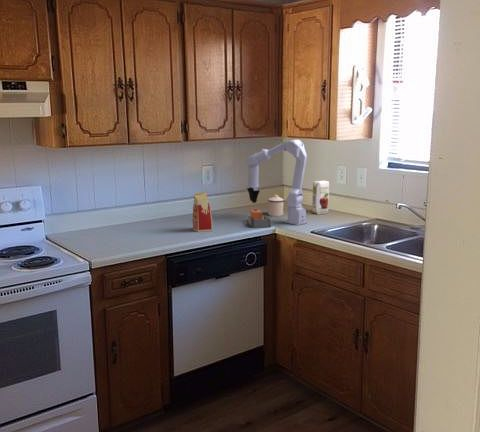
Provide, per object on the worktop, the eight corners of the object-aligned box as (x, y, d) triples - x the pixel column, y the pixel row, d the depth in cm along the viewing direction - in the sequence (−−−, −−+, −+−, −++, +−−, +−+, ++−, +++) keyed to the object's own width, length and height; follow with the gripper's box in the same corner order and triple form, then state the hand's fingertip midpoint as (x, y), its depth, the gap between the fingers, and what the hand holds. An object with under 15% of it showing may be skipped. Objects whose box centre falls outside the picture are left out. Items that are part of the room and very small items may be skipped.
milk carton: (207, 227, 274) (207, 188, 270) (213, 230, 265) (213, 191, 261) (190, 228, 271) (189, 189, 267) (195, 232, 262) (195, 192, 258)
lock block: (261, 223, 284) (261, 211, 283) (252, 223, 283) (252, 211, 282) (259, 220, 292) (259, 208, 291) (250, 220, 291) (250, 209, 290)
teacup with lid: (286, 215, 304) (287, 195, 302) (273, 217, 300) (273, 196, 298) (275, 211, 315) (275, 192, 312) (262, 213, 310) (262, 193, 308)
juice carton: (310, 212, 312) (311, 180, 308) (322, 211, 316) (323, 180, 312) (317, 215, 306) (318, 182, 302) (329, 213, 309) (331, 181, 305)
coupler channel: (270, 227, 274) (270, 219, 273) (251, 227, 272) (251, 220, 272) (266, 223, 283) (266, 215, 282) (248, 223, 282) (248, 216, 281)
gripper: (244, 175, 298) (244, 199, 301) (248, 179, 284) (248, 204, 287) (256, 175, 299) (256, 199, 302) (261, 178, 285) (261, 203, 288)
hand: (253, 201), depth 294 cm, fingers open, 6 cm apart
